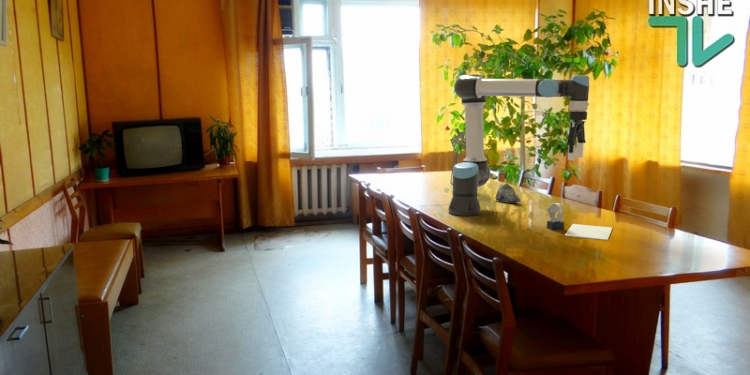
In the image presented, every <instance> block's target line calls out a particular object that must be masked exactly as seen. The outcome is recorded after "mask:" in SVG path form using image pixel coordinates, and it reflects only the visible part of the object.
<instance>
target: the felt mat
mask: <svg viewBox="0 0 750 375" xmlns="http://www.w3.org/2000/svg"><path fill="white" fill-rule="evenodd" d="M612 231H613V227H610V226H598V225H589V224H587V225H586V224H579V223H572V224H571V226H570V227H569V228H568V230H567V231H566V232H565V234H564V237H571V238H579V239H581V238H583V239H589V240H598V241H599V240H601V241H609V239H610V238H609V237H610V236H611V232H612Z"/></svg>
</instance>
